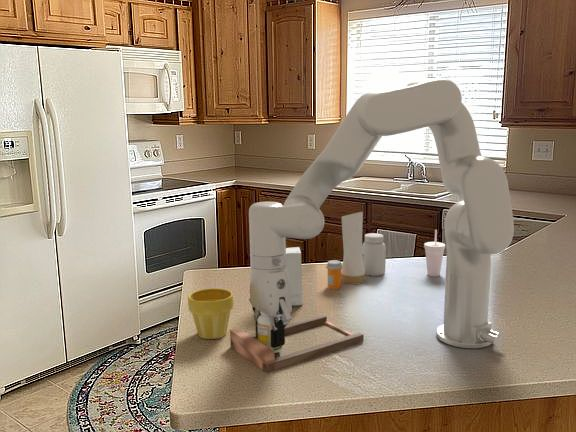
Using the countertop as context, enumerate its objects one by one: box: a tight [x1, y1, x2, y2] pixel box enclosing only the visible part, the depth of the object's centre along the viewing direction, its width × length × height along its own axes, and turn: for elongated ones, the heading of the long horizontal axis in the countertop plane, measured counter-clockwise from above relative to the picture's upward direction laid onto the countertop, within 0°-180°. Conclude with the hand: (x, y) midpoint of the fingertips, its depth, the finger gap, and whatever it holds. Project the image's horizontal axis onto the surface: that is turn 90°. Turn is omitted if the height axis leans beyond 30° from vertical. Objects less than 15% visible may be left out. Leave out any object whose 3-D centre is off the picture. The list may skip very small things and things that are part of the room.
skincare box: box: [286, 246, 304, 306], centre depth 154 cm, size 8×6×15 cm
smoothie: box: [423, 229, 446, 277], centre depth 177 cm, size 6×6×14 cm
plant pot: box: [187, 287, 234, 340], centre depth 135 cm, size 10×10×10 cm
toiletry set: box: [325, 211, 387, 290], centre depth 173 cm, size 25×8×21 cm, turn 135°
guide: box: [229, 314, 365, 373], centre depth 129 cm, size 15×26×4 cm, turn 124°
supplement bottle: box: [256, 311, 283, 354], centre depth 124 cm, size 5×5×10 cm
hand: (270, 340), depth 125 cm, fingers closed on supplement bottle, 5 cm apart
